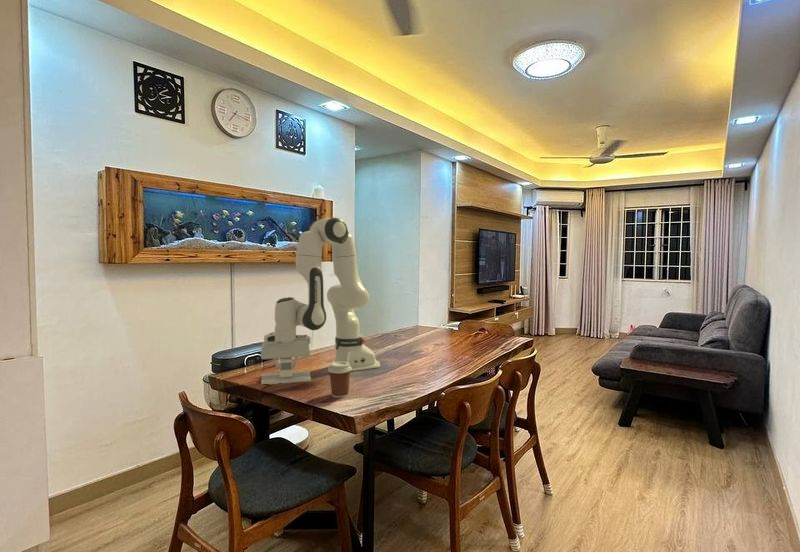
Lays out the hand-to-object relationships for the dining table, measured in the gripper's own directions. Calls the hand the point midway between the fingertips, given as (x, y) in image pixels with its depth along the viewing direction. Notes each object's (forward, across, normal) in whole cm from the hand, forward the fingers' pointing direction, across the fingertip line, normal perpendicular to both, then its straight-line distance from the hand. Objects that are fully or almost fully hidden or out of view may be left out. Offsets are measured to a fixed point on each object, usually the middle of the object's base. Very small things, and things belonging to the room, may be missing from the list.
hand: (285, 367), depth 179 cm
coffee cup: (+5, -19, +27) cm, 33 cm away
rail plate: (+5, 0, 0) cm, 5 cm away
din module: (+3, 0, 0) cm, 3 cm away
